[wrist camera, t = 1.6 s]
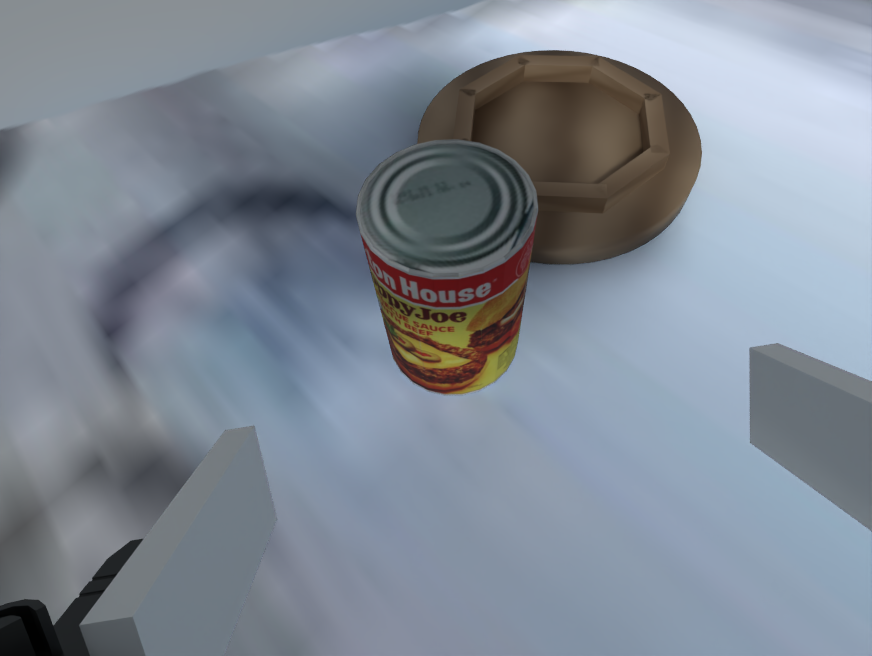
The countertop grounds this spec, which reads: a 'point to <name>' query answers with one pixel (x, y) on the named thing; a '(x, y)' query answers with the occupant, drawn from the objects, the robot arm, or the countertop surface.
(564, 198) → the hub trivet
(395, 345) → the canned food
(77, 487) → the countertop surface
